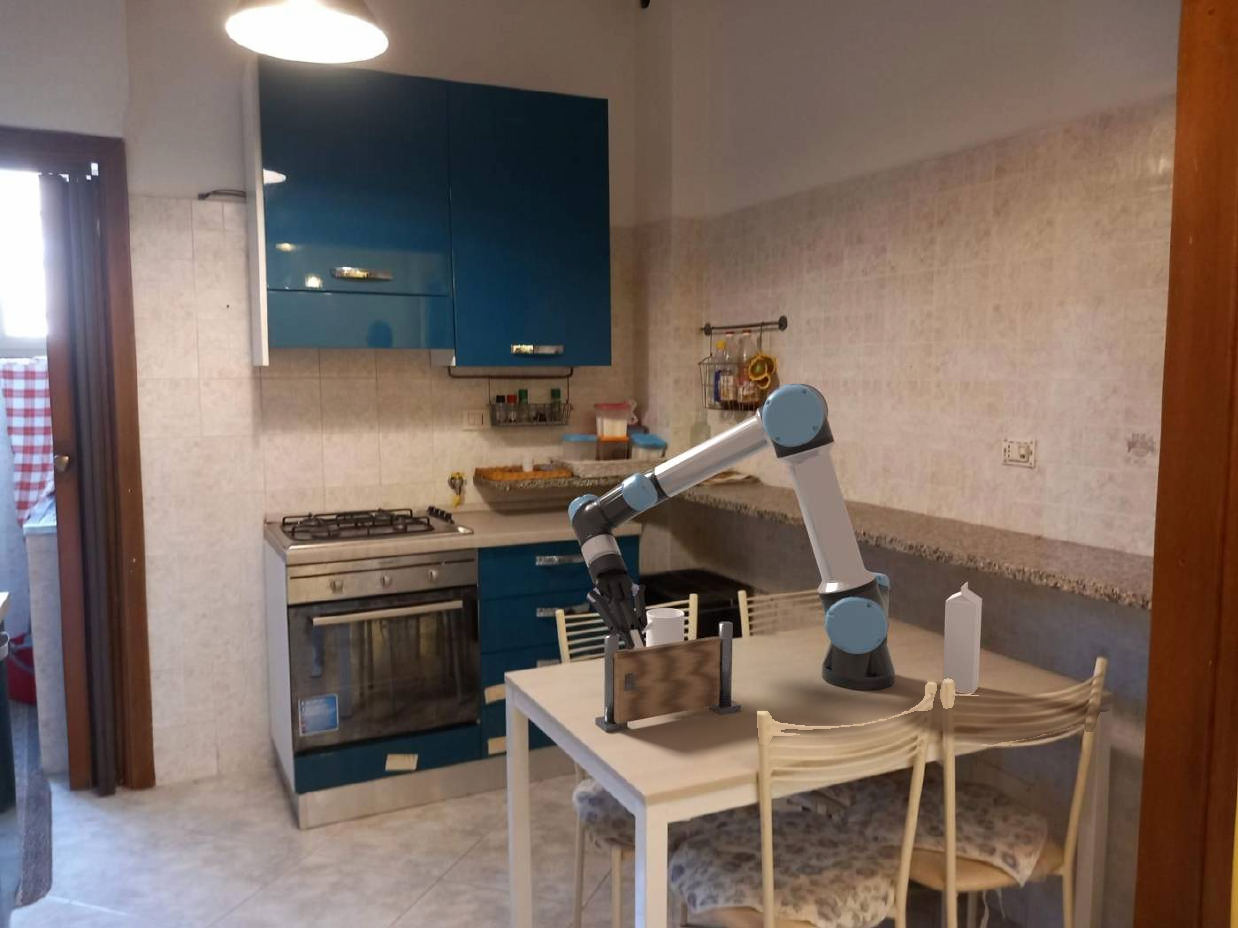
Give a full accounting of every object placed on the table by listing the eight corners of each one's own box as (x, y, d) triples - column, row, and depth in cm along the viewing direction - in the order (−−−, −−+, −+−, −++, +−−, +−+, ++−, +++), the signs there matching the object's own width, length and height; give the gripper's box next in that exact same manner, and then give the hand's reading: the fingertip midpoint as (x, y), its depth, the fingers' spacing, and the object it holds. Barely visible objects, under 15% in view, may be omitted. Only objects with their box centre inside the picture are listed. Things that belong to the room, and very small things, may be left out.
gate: (715, 701, 181) (716, 636, 180) (720, 704, 179) (721, 638, 178) (612, 721, 171) (613, 651, 169) (617, 724, 169) (617, 654, 168)
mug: (626, 660, 212) (626, 613, 211) (667, 650, 219) (667, 606, 218) (650, 669, 205) (650, 622, 204) (691, 660, 212) (692, 613, 211)
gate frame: (720, 699, 186) (722, 616, 185) (740, 710, 180) (741, 624, 179) (595, 723, 173) (595, 634, 172) (612, 736, 167) (612, 643, 166)
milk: (978, 687, 194) (983, 583, 192) (972, 696, 189) (977, 589, 187) (948, 682, 198) (953, 579, 195) (941, 690, 192) (946, 585, 190)
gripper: (626, 569, 200) (664, 667, 187) (570, 574, 194) (606, 676, 181) (638, 549, 195) (678, 648, 182) (581, 554, 189) (619, 657, 176)
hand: (642, 662), depth 181 cm, fingers closed
